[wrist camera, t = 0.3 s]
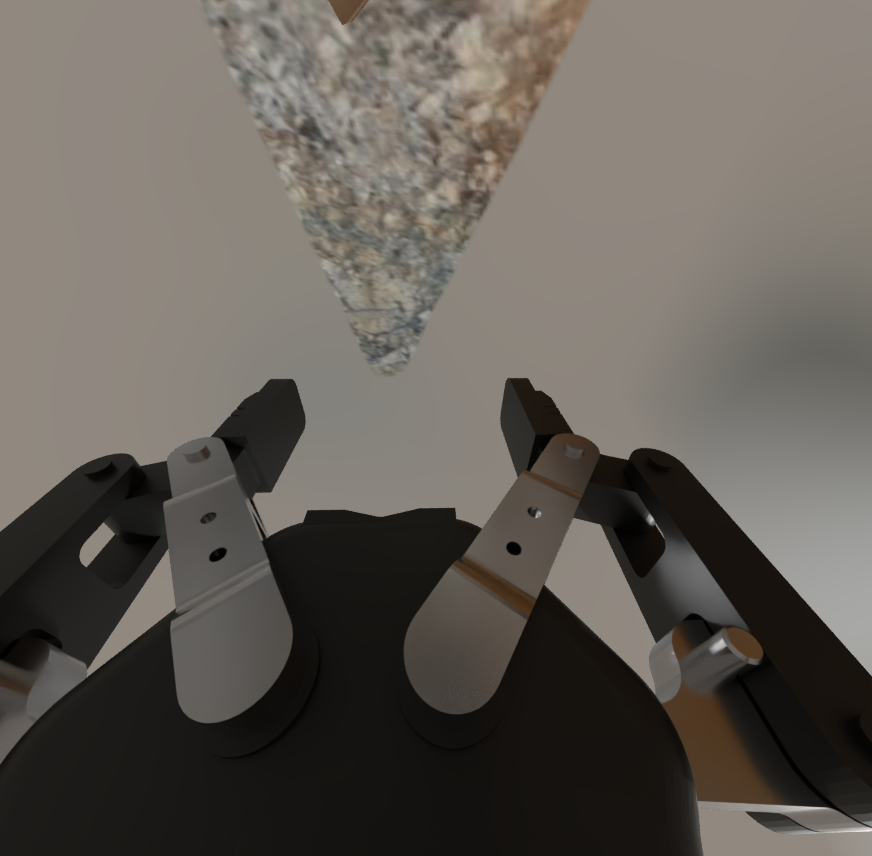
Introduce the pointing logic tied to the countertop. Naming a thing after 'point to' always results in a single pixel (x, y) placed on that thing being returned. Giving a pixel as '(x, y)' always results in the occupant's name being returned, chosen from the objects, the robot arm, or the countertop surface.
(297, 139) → the countertop surface
